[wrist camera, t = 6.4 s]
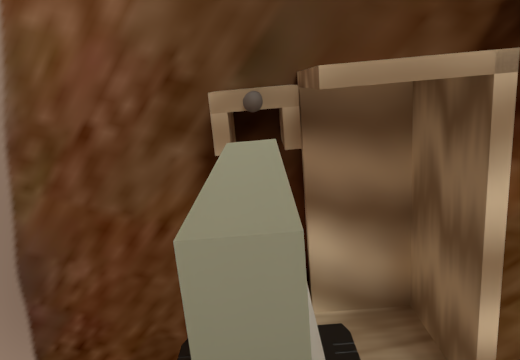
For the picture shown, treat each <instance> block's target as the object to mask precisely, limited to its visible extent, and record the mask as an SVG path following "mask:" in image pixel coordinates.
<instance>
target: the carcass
mask: <svg viewBox="0 0 520 360" xmlns="http://www.w3.org/2000/svg"><path fill="white" fill-rule="evenodd" d="M519 52H520V47H519V48H508V49H496V50H485V51H474V52H463V53H452V54H441V55H430V56H419V57H408V58H397V59H386V60H374V61H363V62H352V63H341V64H330V65H319V66H315V67H312V68H309V69H305V70H302V71H298V72H297V82H298V85H281V86H270V87H258V88H247V89H236V90H225V91H215V92H210V93H208V99H209V108H210V116H211V125H212V133H213V142H214V150H215V156H220V154H221V153H222V151H223V149H224V147H225V145H226V143H233V142H236V135H235V125H234V115H233V112H238V111H249V112H256V111H258V110H261V109H272V108H279V116H280V130H281V140H282V143H283V146H284V148H285V150H292V149H302V165H303V182H304V198H305V215H306V231H307V248H308V264H309V281H310V292H309V294H310V298H311V302H312V306H313V310H314V314H315V318H316V323H317V325H325V324H338V323H342V324H343V325H344V326H345V327H346V328H347V329H348V330H349V331H350V332H351V335H352V338H353V340H354V344H355V346H356V348H357V352H358V354H359V357H360V359H361V360H496V350H497V337H498V324H499V311H500V298H501V285H502V272H503V259H504V246H505V233H506V220H507V207H508V194H509V181H510V168H511V155H512V142H513V129H514V117H515V104H516V91H517V78H518V65H519ZM307 285H308V283H307ZM308 289H309V288H308Z"/></svg>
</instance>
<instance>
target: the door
mask: <svg viewBox="0 0 520 360" xmlns="http://www.w3.org/2000/svg"><path fill="white" fill-rule="evenodd" d="M173 244H174V250H175V257H176V263H177V270H178V276H179V283H180V289H181V296H182V302H183V309H184V315H185V322H186V328H187V335H188V341H189V348H190V354H191V360H312V356H311V340H310V324H309V308H308V293H307V277H306V261H305V245H304V230H303V227H302V224H301V221H300V217H299V214H298V211H297V207H296V204H295V201H294V198H293V194H292V191H291V188H290V184H289V181H288V178H287V174H286V171H285V168H284V165H283V161H282V158H281V155H280V151H279V148H278V145H277V142H276V139H268V140H256V141H245V142H233V143H226V145H225V147H224V149H223V151H222V153H221V154H220V156H219V158H218V160H217V162H216V164H215V165H214V167H213V169H212V171H211V173H210V175H209V177H208V178H207V180H206V182H205V184H204V186H203V188H202V189H201V191H200V193H199V195H198V197H197V199H196V200H195V202H194V204H193V206H192V208H191V210H190V212H189V213H188V215H187V217H186V219H185V221H184V223H183V224H182V226H181V228H180V230H179V232H178V234H177V235H176V237H175V239H174V241H173Z"/></svg>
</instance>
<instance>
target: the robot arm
mask: <svg viewBox="0 0 520 360" xmlns="http://www.w3.org/2000/svg"><path fill="white" fill-rule="evenodd" d="M307 293H308V308H309V324H310V340H311V356H312V360H361V359H360V357H359V354H358V352H357V348H356V346H355V344H354V340H353V338H352V335H351V332H350V331H349V330H348V329H347V328H346V327H345V326H344V325H343V324H342V323H338V324H325V325H317V323H316V318H315V314H314V310H313V306H312V302H311V298H310V294H309V289H308V285H307ZM178 360H191V354H190V348H189V341H188V339H187V340H186V341H185V342H184V343H183V345H182V346H181V350H180V353H179V358H178Z"/></svg>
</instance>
